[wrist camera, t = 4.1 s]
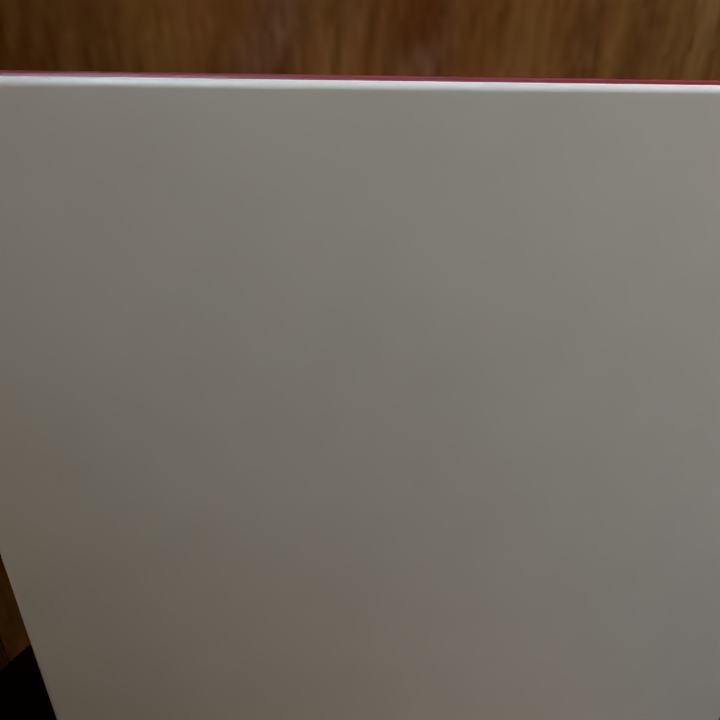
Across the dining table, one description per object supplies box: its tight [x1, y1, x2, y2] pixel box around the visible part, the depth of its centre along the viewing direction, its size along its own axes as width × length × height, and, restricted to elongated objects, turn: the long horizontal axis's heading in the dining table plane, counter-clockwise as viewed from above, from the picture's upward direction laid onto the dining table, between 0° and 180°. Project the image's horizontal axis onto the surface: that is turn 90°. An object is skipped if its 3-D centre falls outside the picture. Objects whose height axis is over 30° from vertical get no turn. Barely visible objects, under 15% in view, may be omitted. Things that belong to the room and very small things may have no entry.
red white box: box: [0, 70, 720, 720], centre depth 6 cm, size 12×6×5 cm, turn 1°
